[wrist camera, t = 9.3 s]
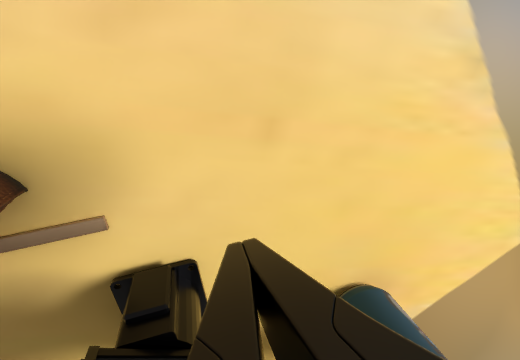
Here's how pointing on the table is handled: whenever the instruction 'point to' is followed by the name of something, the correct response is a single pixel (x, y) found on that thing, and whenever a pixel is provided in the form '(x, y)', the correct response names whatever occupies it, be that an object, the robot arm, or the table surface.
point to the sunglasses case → (9, 189)
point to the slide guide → (52, 234)
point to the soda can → (388, 314)
